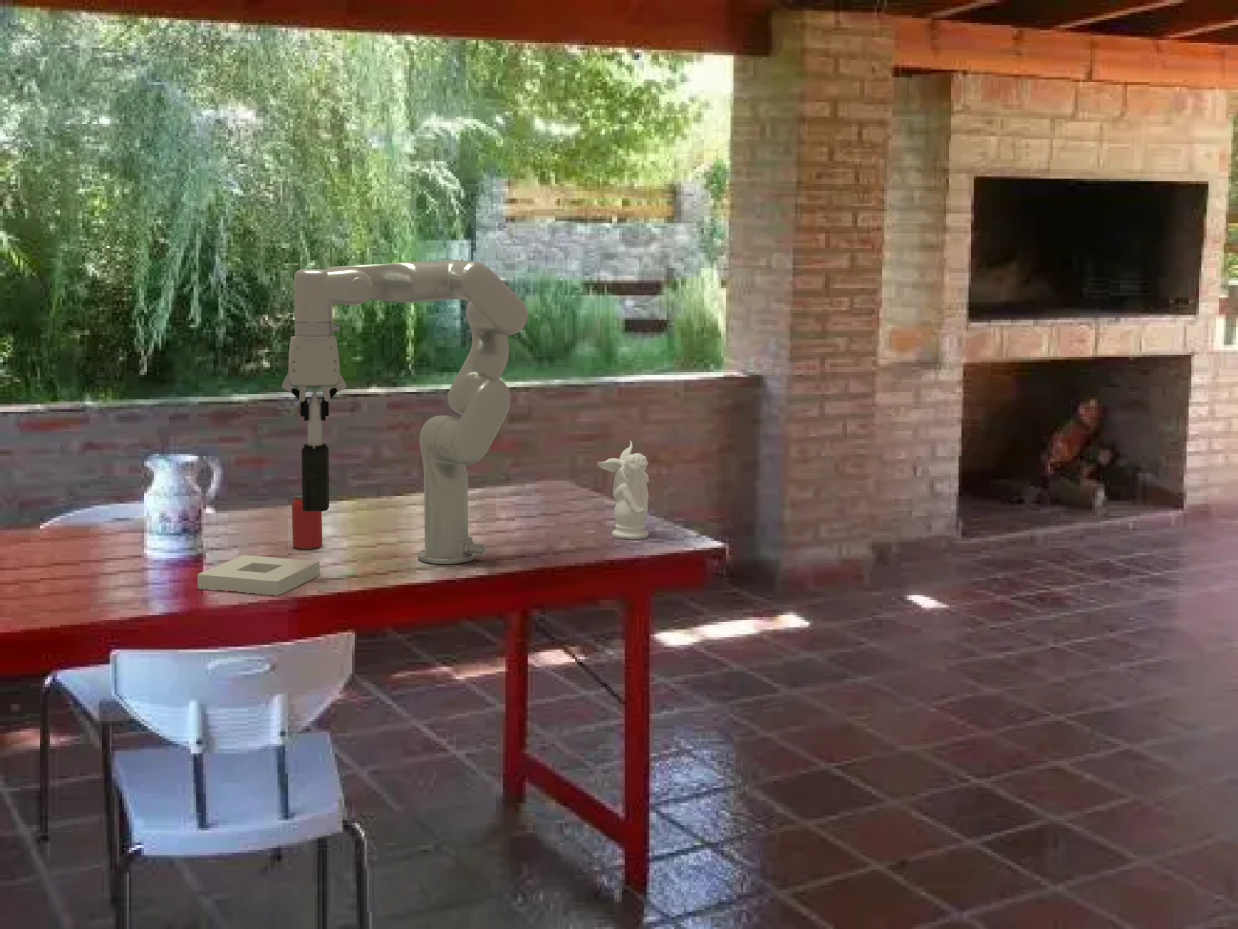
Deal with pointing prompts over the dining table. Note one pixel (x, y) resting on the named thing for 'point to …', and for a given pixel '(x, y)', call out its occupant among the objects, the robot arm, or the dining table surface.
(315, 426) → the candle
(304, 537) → the beer can
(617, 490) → the cherub figurine
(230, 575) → the candle base
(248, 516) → the dining table surface
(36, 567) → the dining table surface
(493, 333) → the robot arm
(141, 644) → the dining table surface
